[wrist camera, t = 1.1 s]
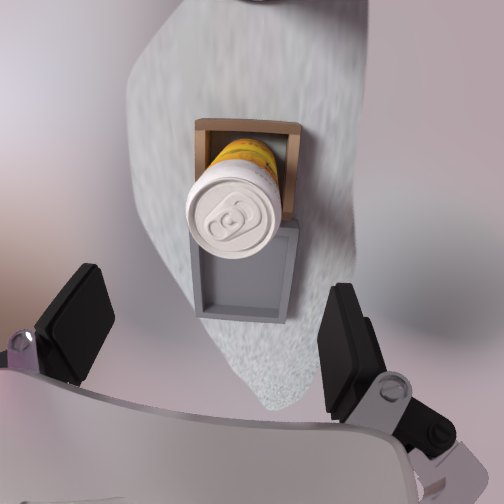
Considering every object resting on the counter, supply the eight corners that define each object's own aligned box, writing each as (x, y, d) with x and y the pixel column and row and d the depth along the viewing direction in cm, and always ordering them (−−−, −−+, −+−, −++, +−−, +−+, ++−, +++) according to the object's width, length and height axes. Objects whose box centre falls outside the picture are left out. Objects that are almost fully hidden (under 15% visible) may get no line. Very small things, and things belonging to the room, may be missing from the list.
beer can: (286, 170, 30) (302, 231, 17) (242, 201, 32) (224, 279, 19) (252, 126, 28) (238, 149, 15) (207, 160, 30) (161, 212, 17)
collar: (201, 118, 28) (195, 120, 25) (297, 122, 27) (301, 125, 25) (201, 205, 33) (196, 215, 30) (289, 210, 32) (291, 221, 30)
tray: (193, 213, 33) (188, 221, 31) (297, 219, 33) (299, 228, 31) (199, 305, 40) (196, 317, 38) (284, 311, 40) (284, 323, 38)
